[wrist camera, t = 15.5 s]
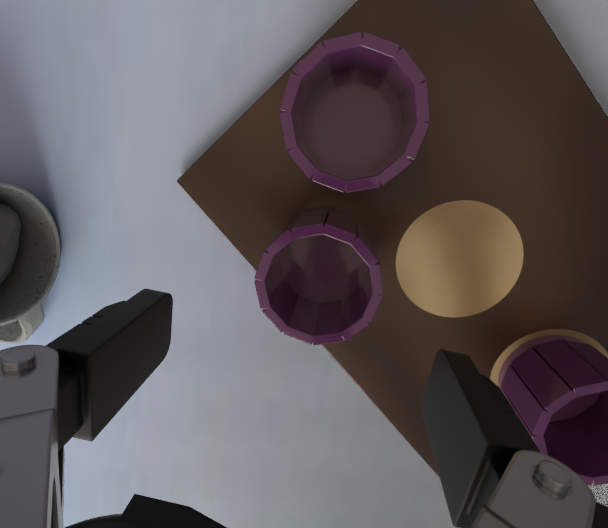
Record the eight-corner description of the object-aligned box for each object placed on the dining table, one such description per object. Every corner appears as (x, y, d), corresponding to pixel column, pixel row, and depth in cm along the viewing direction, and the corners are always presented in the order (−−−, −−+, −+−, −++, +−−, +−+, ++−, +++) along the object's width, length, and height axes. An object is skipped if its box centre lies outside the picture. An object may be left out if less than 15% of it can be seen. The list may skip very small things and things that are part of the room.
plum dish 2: (317, 324, 21) (310, 365, 17) (254, 252, 21) (230, 277, 16) (396, 267, 20) (409, 298, 16) (331, 187, 19) (326, 197, 15)
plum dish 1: (343, 204, 19) (342, 219, 15) (273, 118, 18) (251, 109, 14) (434, 131, 18) (460, 124, 14) (362, 33, 17) (367, -6, 13)
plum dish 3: (484, 408, 22) (516, 469, 18) (516, 325, 20) (561, 370, 16) (581, 429, 21) (637, 496, 17) (622, 346, 20) (695, 398, 16)
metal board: (451, 485, 24) (453, 493, 24) (180, 180, 21) (175, 180, 20) (743, 341, 20) (755, 346, 19) (461, -98, 16) (465, -107, 15)
